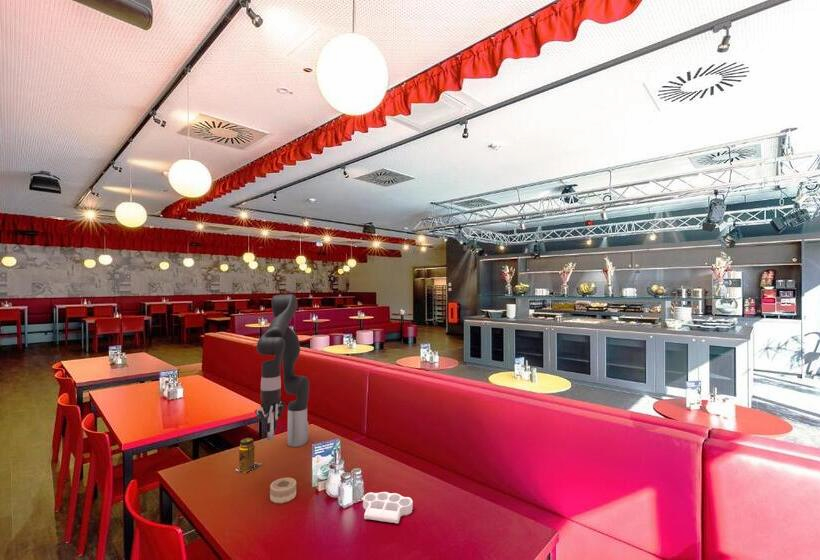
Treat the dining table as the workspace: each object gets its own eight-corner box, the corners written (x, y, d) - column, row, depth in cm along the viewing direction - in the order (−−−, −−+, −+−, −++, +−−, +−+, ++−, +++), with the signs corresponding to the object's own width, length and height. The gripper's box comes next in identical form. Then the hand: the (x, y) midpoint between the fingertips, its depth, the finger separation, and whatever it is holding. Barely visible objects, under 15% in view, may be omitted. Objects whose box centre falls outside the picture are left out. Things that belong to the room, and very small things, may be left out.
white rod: (270, 437, 151) (271, 407, 151) (275, 438, 150) (275, 408, 150) (266, 439, 149) (266, 409, 149) (270, 441, 148) (270, 410, 148)
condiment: (234, 470, 159) (234, 442, 159) (249, 461, 167) (249, 434, 167) (247, 473, 156) (248, 444, 156) (262, 464, 164) (262, 436, 164)
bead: (284, 487, 146) (284, 475, 146) (300, 493, 142) (301, 481, 142) (265, 498, 138) (265, 486, 138) (282, 505, 134) (282, 493, 134)
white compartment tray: (355, 520, 126) (368, 496, 141) (407, 528, 123) (415, 502, 137) (355, 510, 126) (368, 487, 141) (407, 517, 123) (415, 493, 137)
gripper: (278, 381, 157) (277, 423, 157) (249, 390, 145) (249, 434, 145) (290, 384, 154) (290, 426, 154) (262, 393, 141) (262, 438, 141)
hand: (270, 430), depth 149 cm, fingers closed on white rod, 2 cm apart
